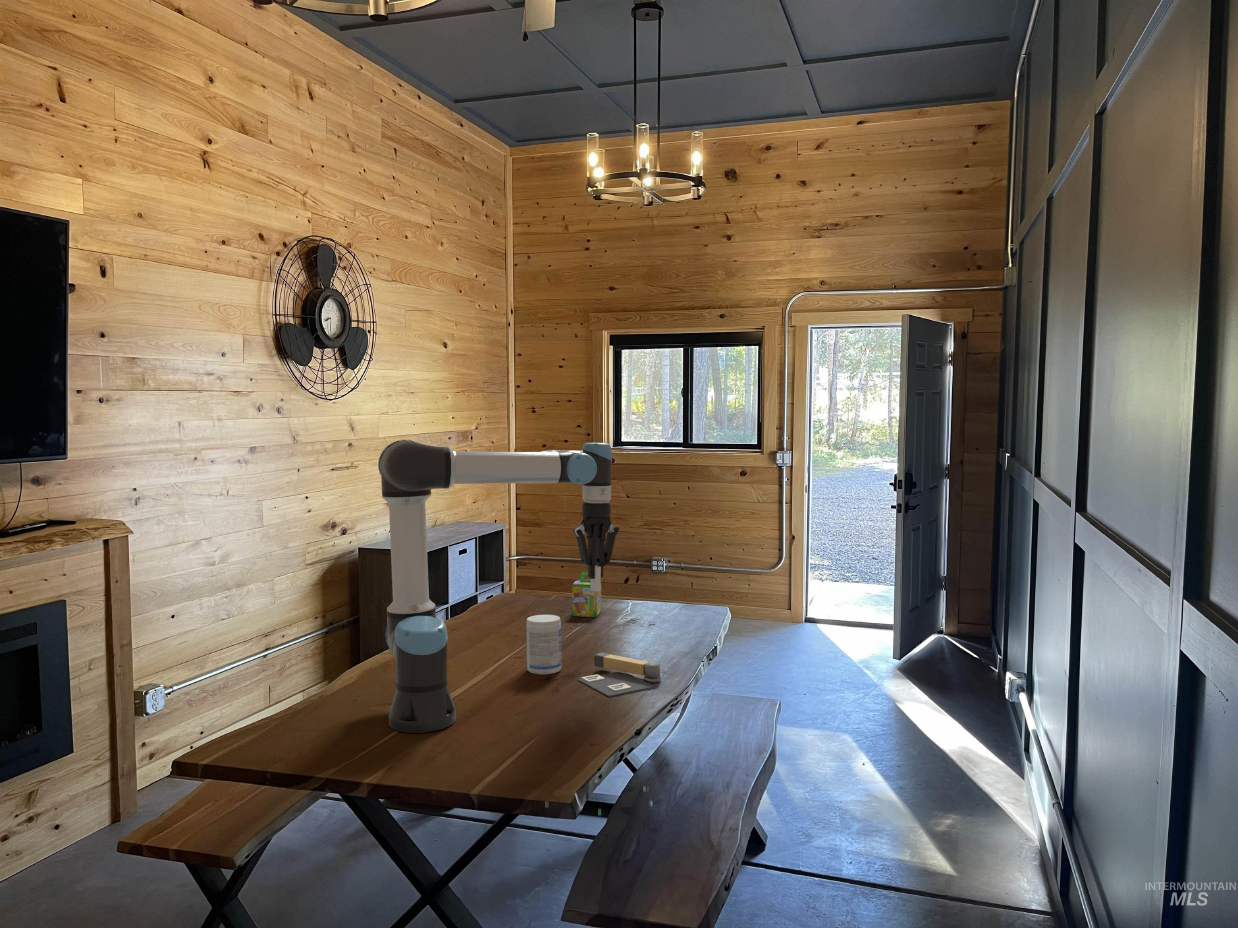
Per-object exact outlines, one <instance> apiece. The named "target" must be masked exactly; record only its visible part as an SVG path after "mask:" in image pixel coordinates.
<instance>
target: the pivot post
mask: <svg viewBox="0 0 1238 928" xmlns="http://www.w3.org/2000/svg"><path fill="white" fill-rule="evenodd" d="M643 677H644V678H643V681H645V682H647V683H649V684H651V685H655V684H659V683H661V681H662V677H661V675H660V677H657V678H648V677H646V676H645V675H644V676H643Z"/></svg>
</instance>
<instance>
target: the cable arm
mask: <svg viewBox="0 0 1238 928" xmlns="http://www.w3.org/2000/svg"><path fill="white" fill-rule="evenodd" d="M593 657H594V661H593V662H594V667H596V668H602V669H604V668H605V669H609V670H614V671H617V672H619V671H622V672H626V673H628V674H631V675H632V674H633V675H637V676H642V677H644V676H646V677H648V678H657V677H660V676H661V664H660V663H659V662H653V661H651V662H650V661H646V660H640V659H636V658H631V657H625V656H622V655H621V656H619V655H615V654H611V653H607V652H602V651H601V652H599V653H596V654H594V656H593Z"/></svg>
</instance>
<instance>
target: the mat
mask: <svg viewBox="0 0 1238 928" xmlns="http://www.w3.org/2000/svg"><path fill="white" fill-rule="evenodd" d="M599 675H600V676H602V677H604V678H605V679H604V680H599V681H593V682H587V681H585V680H583V679H581V678H578V679H577V681H578V682H579V683H582V684H584V685H586V686H587V687H589V688H591V689H593V690H595V691H597V692H599V693H601V694H602V695H604V696H606V697H608V698H611V697H612V698H613V697H617V696H621V695H627V694H632V693H637V692H641V691H646V690H651V689H655V688H656V686H655V685H654V684H649V683H647V682H645V681H644V679H641V678H639V677H637V676H635V675H632V674H631V673H627V672H622V671H614V672H609V673H602V674H599ZM620 683H625V684H627V685H629V686H631V687H632V688H630V689H625V690H620V691H613V690H611V689H609V688H607V686H610V685H615V684H620Z"/></svg>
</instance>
